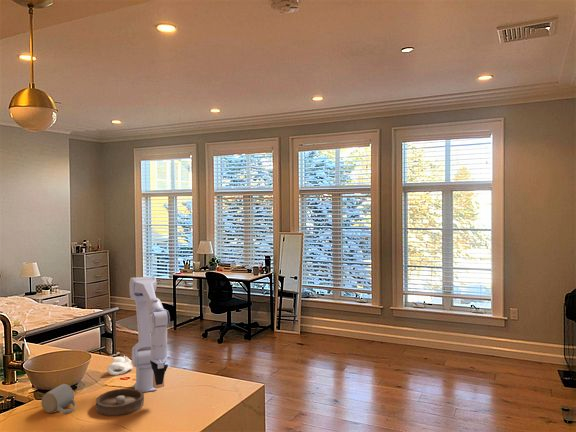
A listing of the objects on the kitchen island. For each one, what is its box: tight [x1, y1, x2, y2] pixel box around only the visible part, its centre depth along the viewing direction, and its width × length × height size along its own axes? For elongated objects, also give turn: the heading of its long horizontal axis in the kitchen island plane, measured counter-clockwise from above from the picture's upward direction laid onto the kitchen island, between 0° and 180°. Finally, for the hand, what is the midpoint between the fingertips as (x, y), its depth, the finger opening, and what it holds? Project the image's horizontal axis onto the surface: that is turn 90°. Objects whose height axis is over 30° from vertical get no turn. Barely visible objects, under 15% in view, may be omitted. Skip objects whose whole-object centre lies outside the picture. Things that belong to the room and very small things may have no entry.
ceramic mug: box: [40, 383, 76, 414], centre depth 156 cm, size 11×8×8 cm
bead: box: [153, 372, 165, 389], centre depth 161 cm, size 4×4×5 cm
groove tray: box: [95, 388, 145, 417], centre depth 160 cm, size 16×16×3 cm
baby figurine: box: [106, 355, 133, 376], centre depth 195 cm, size 9×12×8 cm
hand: (158, 381), depth 161 cm, fingers closed on bead, 4 cm apart
